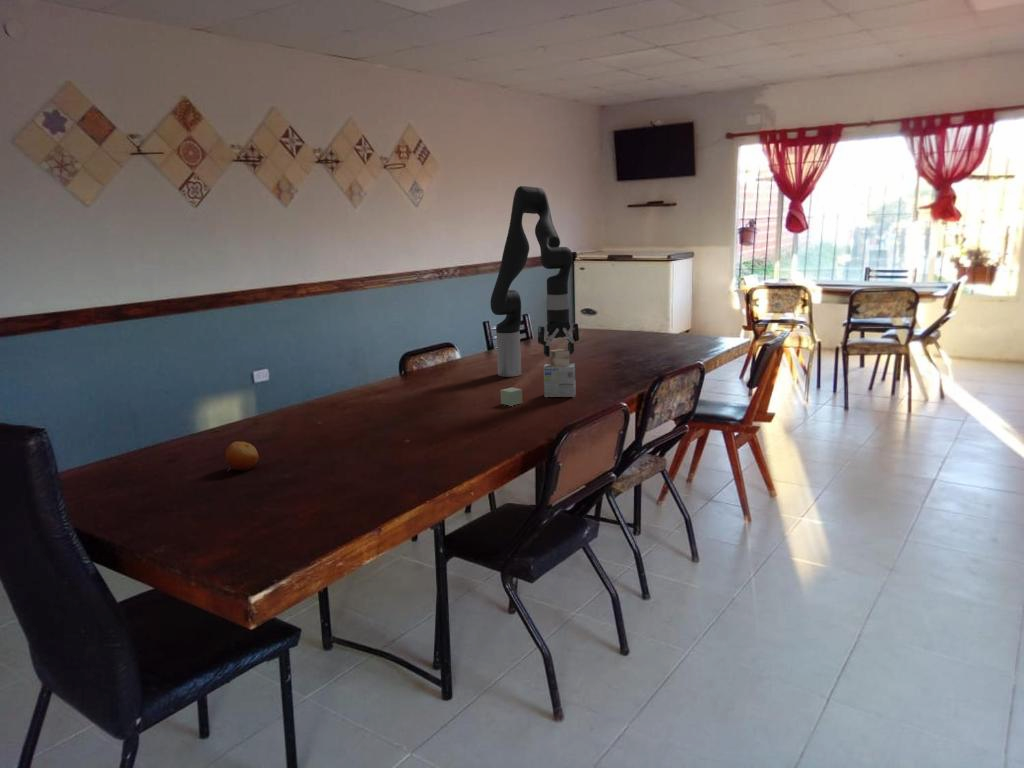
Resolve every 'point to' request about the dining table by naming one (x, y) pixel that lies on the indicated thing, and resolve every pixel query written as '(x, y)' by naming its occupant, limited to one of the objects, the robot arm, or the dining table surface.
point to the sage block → (511, 396)
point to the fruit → (241, 456)
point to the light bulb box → (559, 381)
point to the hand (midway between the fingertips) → (559, 355)
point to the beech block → (559, 357)
